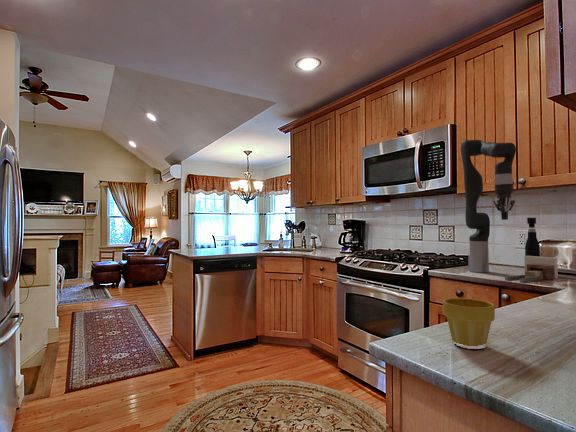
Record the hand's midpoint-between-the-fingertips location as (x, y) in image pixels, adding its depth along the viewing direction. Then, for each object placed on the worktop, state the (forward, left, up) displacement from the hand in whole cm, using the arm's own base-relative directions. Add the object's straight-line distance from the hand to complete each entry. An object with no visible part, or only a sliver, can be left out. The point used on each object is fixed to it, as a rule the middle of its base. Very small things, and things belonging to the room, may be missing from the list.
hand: (504, 219), depth 162 cm
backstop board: (+2, +24, -29) cm, 38 cm away
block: (+4, +20, -29) cm, 35 cm away
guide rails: (+4, +6, -29) cm, 30 cm away
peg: (+5, +16, -29) cm, 34 cm away
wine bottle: (-5, +30, -29) cm, 42 cm away
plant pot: (+51, -93, -29) cm, 110 cm away
